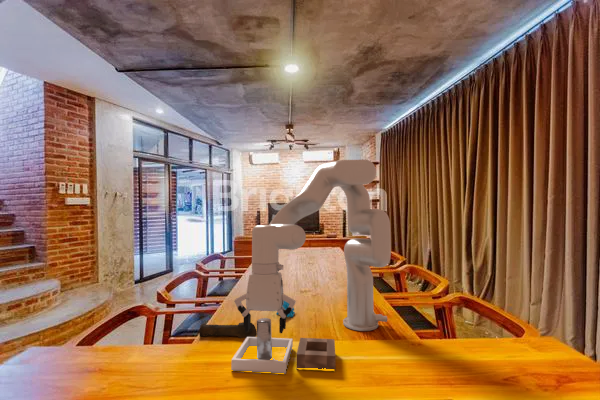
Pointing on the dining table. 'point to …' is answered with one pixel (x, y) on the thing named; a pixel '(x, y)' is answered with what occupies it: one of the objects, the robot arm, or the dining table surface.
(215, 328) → the hand tool
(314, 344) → the socket block
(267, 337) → the pin
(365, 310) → the robot arm
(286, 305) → the teal knobbly figurine
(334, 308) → the dining table surface
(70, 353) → the dining table surface
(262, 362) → the tray
